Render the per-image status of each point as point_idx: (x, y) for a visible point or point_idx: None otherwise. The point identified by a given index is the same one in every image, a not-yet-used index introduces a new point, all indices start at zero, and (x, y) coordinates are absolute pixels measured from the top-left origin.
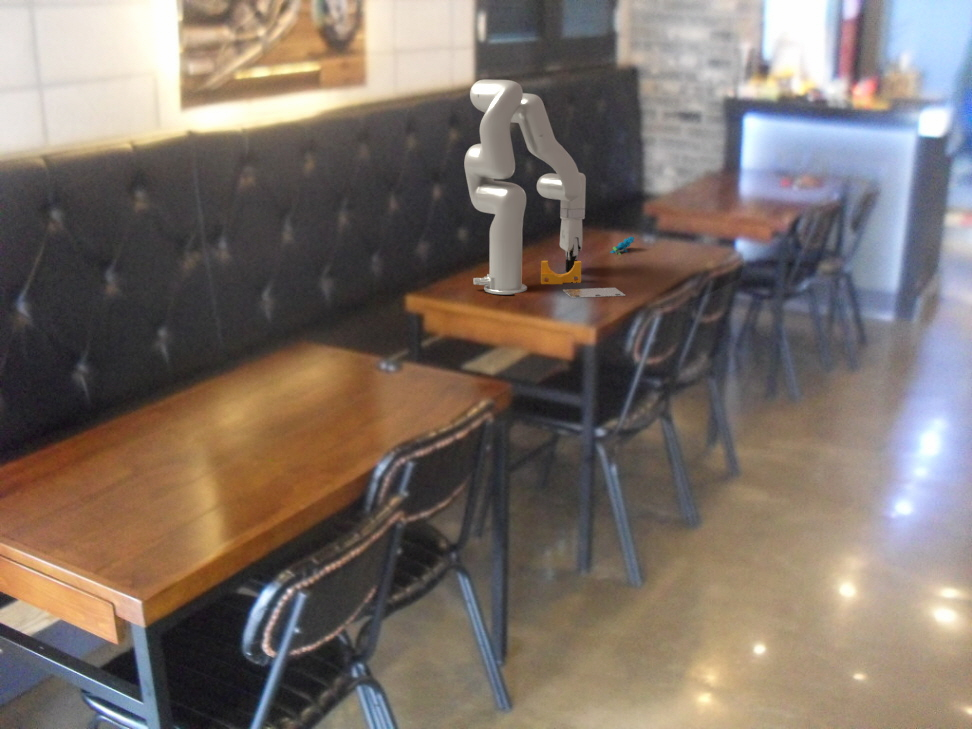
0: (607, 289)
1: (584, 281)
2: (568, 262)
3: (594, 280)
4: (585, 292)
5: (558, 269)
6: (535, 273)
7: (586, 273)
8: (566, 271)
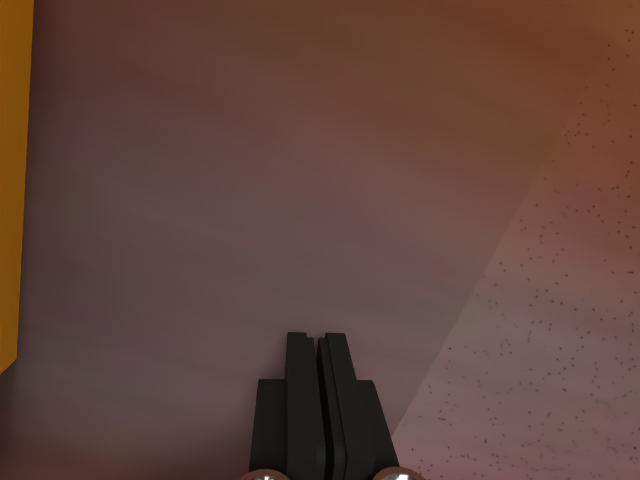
0: None
1: (20, 391)
2: (285, 441)
3: (67, 468)
4: None
5: (612, 321)
6: (560, 7)
7: None
8: (300, 334)
